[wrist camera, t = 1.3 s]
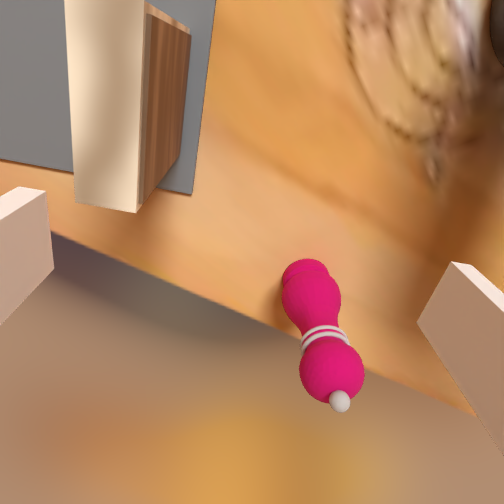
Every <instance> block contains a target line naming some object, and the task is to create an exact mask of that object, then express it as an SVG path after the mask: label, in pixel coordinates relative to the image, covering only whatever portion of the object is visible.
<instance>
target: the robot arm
mask: <svg viewBox="0 0 504 504" xmlns="http://www.w3.org/2000/svg"><path fill="white" fill-rule="evenodd" d="M490 32H491V39H492V44H493V47H494V50H495V53H496V55H497V57H498V59H499V61H500V62H501V64H502V65H503V66H504V0H493V1H492V6H491V14H490ZM53 269H54V263H53V254H52V244H51V235H50V225H49V216H48V206H47V197H46V191H42V190H36V189H30V188H25V187H17V188H15V189H13V190H11V191H9V192H8V193H6V194H4V195H2V196H0V325H1V324H2V323H3V322H4V321H5V320H6V319H7V318H8V317H9V316H10V315H11V314H12V312H13V311H14V310H15V309H16V308H17V307H18V306H19V305H20V304H21V303H22V302H23V301H24V300H25V299H26V298H27V297H28V296H29V294H31V292H32V291H33V290H34V289H35V288H36V287H37V286H38V285H39V284H40V283H41V282H42V281H43V280H44V279H45V278H46V277H47V275H48V274H49V273H50V272H51V271H52V270H53ZM416 323H417V325H418V326H419V328H420V329H421V331H422V333H423V334H424V336H425V337H426V339H427V340H428V342H429V343H430V345H431V346H432V348H433V349H434V351H435V352H436V354H437V355H438V357H439V358H440V360H441V361H442V363H443V364H444V366H445V368H446V369H447V371H448V372H449V374H450V375H451V377H452V378H453V380H454V381H455V383H456V384H457V386H458V387H459V389H460V390H461V392H462V393H463V395H464V396H465V398H466V400H467V401H468V403H469V404H470V406H471V407H472V409H473V410H474V412H475V413H476V415H477V416H478V418H479V419H480V421H481V422H482V424H483V425H484V427H485V428H486V430H487V431H488V433H489V435H490V436H491V438H492V439H493V441H494V442H495V444H496V445H497V447H498V448H499V450H500V451H501V453H502V454H503V456H504V294H503V293H502V292H501V291H500V290H499V289H498V288H497V287H496V286H494V285H493V284H492V283H491V282H490V281H489V280H488V279H487V278H486V277H484V276H483V275H482V274H481V273H480V272H479V271H478V270H477V269H475V268H474V267H473V266H472V265H469V264H463V263H458V262H452V261H451V262H450V264H449V265H448V267H447V269H446V271H445V273H444V274H443V276H442V278H441V280H440V281H439V283H438V285H437V287H436V289H435V290H434V292H433V294H432V296H431V297H430V299H429V301H428V303H427V304H426V306H425V308H424V310H423V312H422V313H421V315H420V317H419V319H418V320H417V322H416Z"/></svg>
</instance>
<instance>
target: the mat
mask: <svg viewBox="0 0 504 504" xmlns="http://www.w3.org/2000/svg"><path fill="white" fill-rule="evenodd" d="M144 1H146V2H148V3H149V4H151V5H152V6H154V7H156V8H157V9H159V10H160V11H162V12H164V13H165V14H167V15H168V16H170V17H172V18H173V19H175V20H176V21H178V22H180V23H181V24H183V25H184V26H186V27H188V28H189V29H190V35H192V39H191V49H190V59H189V69H188V80H187V90H186V100H185V110H184V120H183V130H182V140H181V150H180V155H179V156H178V158H177V159H176V160H175V162H174V163H173V164H172V166H171V167H170V168H169V170H168V171H167V172H166V174H165V175H164V176H163V178H162V179H161V181H160V182H159V183H158V185H157V186H156V187H155V188H160V189H166V190H171V191H176V192H182V193H187V194H192V192H193V184H194V175H195V167H196V159H197V151H198V143H199V135H200V127H201V118H202V110H203V102H204V94H205V86H206V78H207V70H208V62H209V53H210V45H211V37H212V29H213V21H214V13H215V5H216V0H144ZM0 159H5V160H11V161H16V162H21V163H27V164H32V165H37V166H43V167H48V168H53V169H59V170H64V171H69V172H74V170H73V152H72V133H71V115H70V97H69V79H68V60H67V42H66V24H65V6H64V0H0Z"/></svg>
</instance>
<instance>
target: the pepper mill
mask: <svg viewBox="0 0 504 504" xmlns="http://www.w3.org/2000/svg"><path fill="white" fill-rule="evenodd" d="M283 286H284V289H283V292H282V303H283V306H284V309H285V312H286V313H287V315H288V317H289V318H290V319H291V321H292V322H293V323H294V324H295V325H296V326H297V327H298V328H299V330H300V331H301V334H302V338H301V341H300V350H301V356H302V359H301V361H300V366H299V371H300V378H301V381H302V384H303V386H304V388H305V389H306V391H307V392H308V393H309V394H310V395H311V396H312V397H314V398H315V399H317V400H319V401H321V402H324V403H329V404H330V406H331V407H332V409H333V410H335V411H336V412H340V413H342V412H345V411H347V410H348V408H349V407H350V399H351V398H353V397H354V396H355V395H356V394H357V393H358V392H359V390H360V389H361V387H362V385H363V381H364V376H365V375H364V366H363V363H362V360H361V358H360V356H359V354H358V353H357V352H356V351H355V350H354V349H353V348H352V347H351V346H350V343H349V341H348V337H347V335H346V334H345V332H344V331H343V330H341V329H340V328H339V326H338V314H339V310H340V306H341V294H340V290H339V287H338V285H337V283H336V282H335V280H334V279H333V278H332V277H331V276H330V275H329V273H328V270H327V268H326V267H325V266H324V265H323V264H322V263H321V262H319V261H317V260H314V259H302V260H298V261H296V262H294V263H292V264H291V265H290V266H289V267H288V268H287V269H286V270H285V272H284V275H283Z"/></svg>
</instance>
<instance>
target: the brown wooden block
mask: <svg viewBox="0 0 504 504" xmlns="http://www.w3.org/2000/svg"><path fill="white" fill-rule="evenodd" d="M64 6H65V24H66V42H67V60H68V79H69V97H70V115H71V133H72V152H73V170H74V188H75V203H81V204H87V205H92V206H98V207H104V208H109V209H115V210H120V211H126V212H132V213H137V211H138V210H139V208H140V207H141V206H142V205H143V204H144V202H145V201H146V200H147V198H148V197H149V195H150V194H151V193H152V191H153V190H154V189H155V187H156V186H157V185H158V183H159V182H160V181H161V179H162V178H163V176H164V175H165V174H166V172H167V171H168V170H169V168H170V167H171V166H172V164H173V163H174V162H175V160H176V159H177V158H178V156H179V155H180V150H181V140H182V130H183V120H184V110H185V100H186V90H187V80H188V69H189V59H190V49H191V39H192V35H190V29H189V28H188V27H186V26H184V25H183V24H181V23H180V22H178V21H176V20H175V19H173V18H172V17H170V16H168V15H167V14H165V13H164V12H162V11H160V10H159V9H157V8H156V7H154V6H152V5H151V4H149V3H148V2H146V1H144V0H64Z"/></svg>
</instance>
